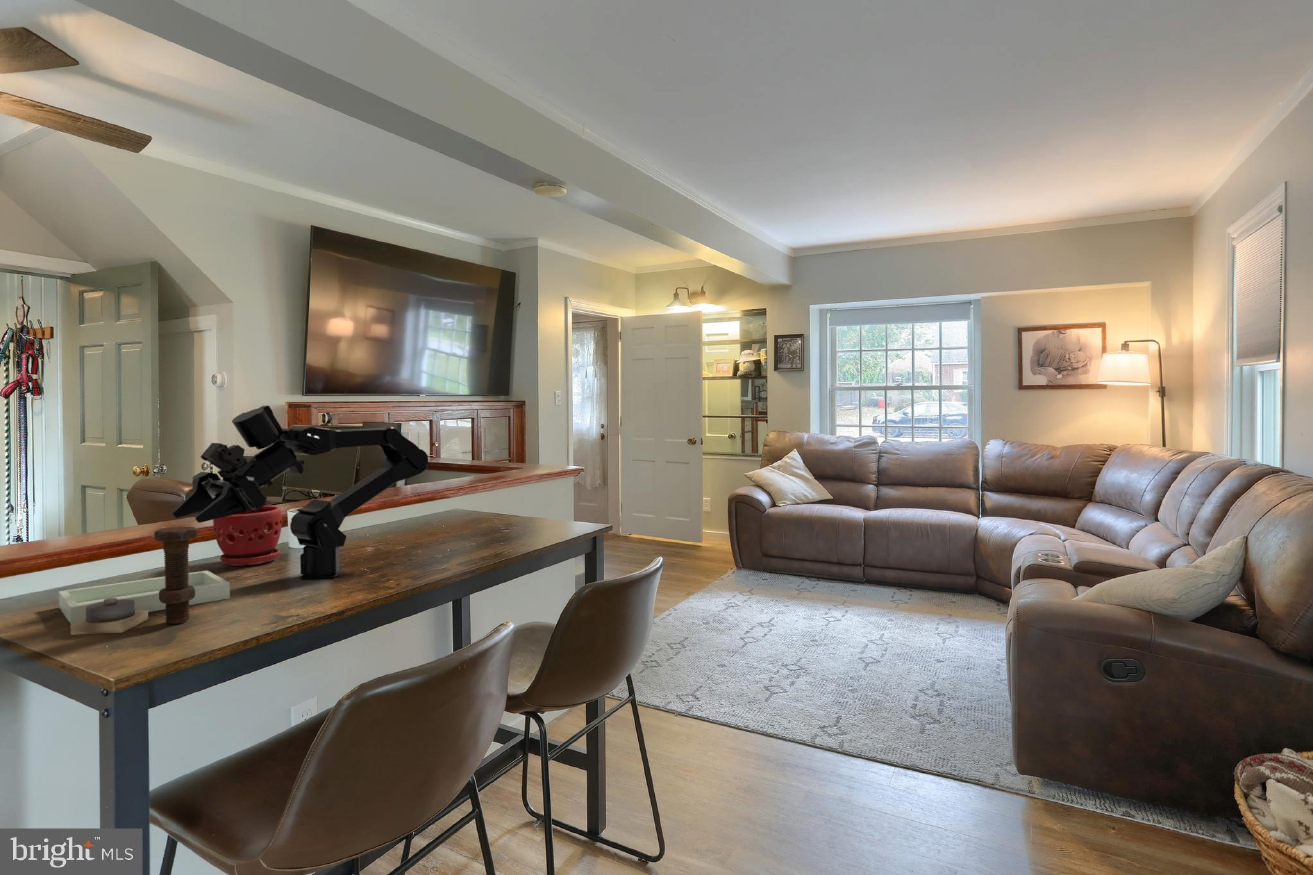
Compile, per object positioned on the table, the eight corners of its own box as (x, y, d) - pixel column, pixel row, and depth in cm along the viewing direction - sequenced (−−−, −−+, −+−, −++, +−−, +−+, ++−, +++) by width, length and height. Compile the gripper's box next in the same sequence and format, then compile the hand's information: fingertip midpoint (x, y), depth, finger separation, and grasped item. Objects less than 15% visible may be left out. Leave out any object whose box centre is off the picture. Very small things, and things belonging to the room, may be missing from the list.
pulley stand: (148, 618, 112) (147, 592, 112) (122, 632, 105) (122, 604, 105) (99, 620, 111) (99, 594, 111) (70, 634, 104) (70, 606, 104)
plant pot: (238, 555, 162) (237, 504, 161) (293, 556, 161) (293, 505, 161) (199, 568, 149) (198, 512, 148) (259, 569, 148) (259, 513, 148)
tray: (207, 584, 134) (207, 570, 134) (229, 598, 125) (229, 582, 125) (59, 607, 118) (58, 591, 118) (71, 625, 109) (70, 607, 109)
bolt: (174, 628, 107) (172, 532, 107) (147, 626, 108) (145, 531, 108) (206, 617, 113) (204, 526, 112) (180, 615, 114) (178, 525, 114)
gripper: (216, 431, 134) (135, 477, 123) (264, 432, 123) (180, 483, 112) (248, 478, 139) (173, 527, 128) (297, 483, 128) (219, 537, 117)
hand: (185, 518), depth 121 cm, fingers open, 9 cm apart
